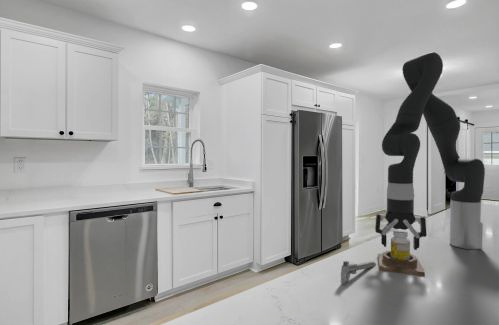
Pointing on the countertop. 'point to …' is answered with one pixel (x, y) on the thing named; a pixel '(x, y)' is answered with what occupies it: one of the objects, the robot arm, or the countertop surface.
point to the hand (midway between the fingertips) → (399, 247)
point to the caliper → (353, 269)
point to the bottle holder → (400, 264)
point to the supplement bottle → (400, 245)
